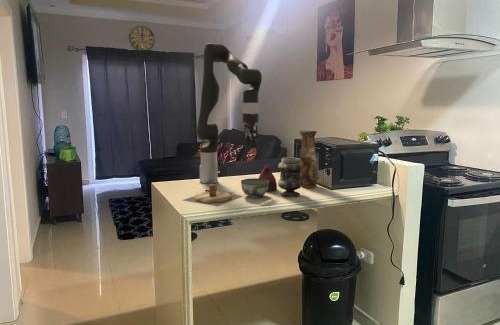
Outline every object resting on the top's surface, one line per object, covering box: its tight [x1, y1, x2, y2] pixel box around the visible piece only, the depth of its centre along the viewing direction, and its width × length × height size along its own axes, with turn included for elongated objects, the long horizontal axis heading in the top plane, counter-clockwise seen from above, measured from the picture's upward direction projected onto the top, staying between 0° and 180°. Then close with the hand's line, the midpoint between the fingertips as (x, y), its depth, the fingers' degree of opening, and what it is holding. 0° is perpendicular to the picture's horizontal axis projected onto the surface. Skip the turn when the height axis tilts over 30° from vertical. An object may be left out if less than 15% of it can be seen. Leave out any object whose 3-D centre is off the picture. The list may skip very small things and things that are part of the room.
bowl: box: [240, 177, 270, 199], centre depth 181 cm, size 14×13×8 cm
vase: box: [298, 129, 319, 189], centre depth 202 cm, size 10×11×30 cm
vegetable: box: [258, 164, 278, 193], centre depth 195 cm, size 10×10×15 cm
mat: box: [182, 194, 244, 207], centre depth 178 cm, size 20×20×1 cm
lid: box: [194, 183, 232, 203], centre depth 177 cm, size 17×17×6 cm
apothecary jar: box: [277, 157, 303, 198], centre depth 185 cm, size 12×12×18 cm
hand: (250, 146), depth 183 cm, fingers open, 8 cm apart
